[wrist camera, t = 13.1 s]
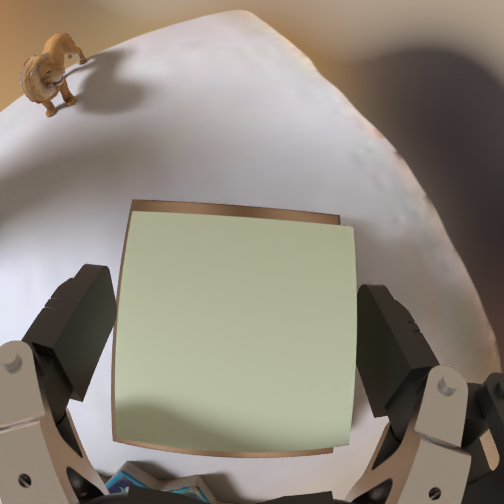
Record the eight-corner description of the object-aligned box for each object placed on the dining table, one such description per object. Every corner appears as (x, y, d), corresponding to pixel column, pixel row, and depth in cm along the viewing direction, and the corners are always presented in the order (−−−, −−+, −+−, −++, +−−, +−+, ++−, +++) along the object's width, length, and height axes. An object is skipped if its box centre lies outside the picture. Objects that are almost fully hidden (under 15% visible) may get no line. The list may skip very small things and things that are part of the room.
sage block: (184, 372, 14) (116, 437, 4) (188, 287, 15) (132, 210, 5) (271, 377, 14) (348, 445, 5) (274, 293, 15) (353, 226, 6)
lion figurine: (86, 120, 23) (54, 56, 15) (43, 141, 22) (3, 85, 14) (87, 51, 26) (70, 1, 18) (52, 67, 25) (31, 20, 17)
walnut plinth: (126, 428, 17) (101, 451, 12) (143, 216, 21) (123, 185, 16) (318, 438, 18) (343, 464, 13) (326, 230, 22) (351, 203, 17)
